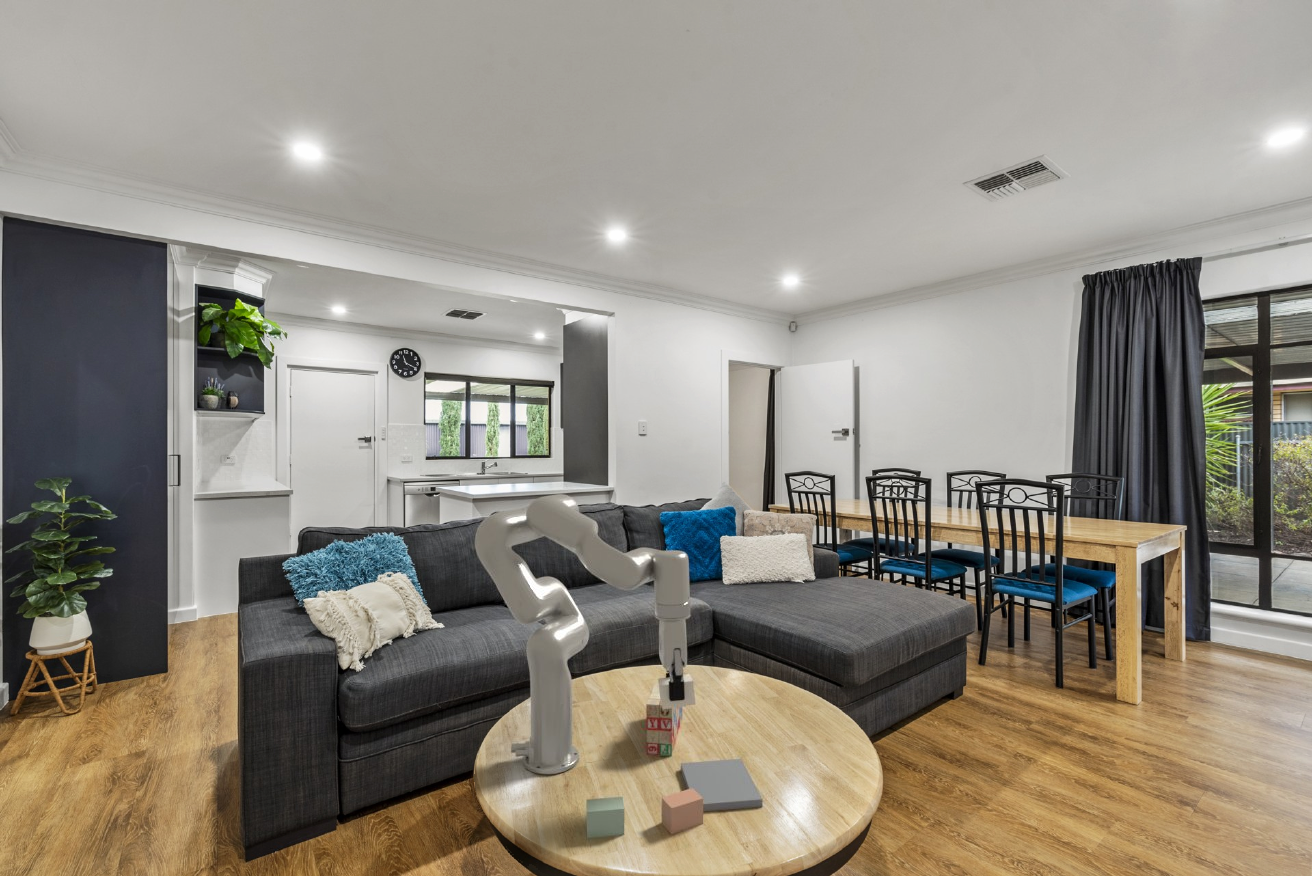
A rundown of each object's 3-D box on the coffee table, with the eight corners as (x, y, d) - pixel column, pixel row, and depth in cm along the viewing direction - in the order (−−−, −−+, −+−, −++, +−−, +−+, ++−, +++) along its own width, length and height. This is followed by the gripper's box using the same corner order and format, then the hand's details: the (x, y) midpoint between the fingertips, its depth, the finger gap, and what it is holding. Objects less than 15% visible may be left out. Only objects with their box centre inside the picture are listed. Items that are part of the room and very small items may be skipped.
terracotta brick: (671, 834, 117) (671, 808, 117) (661, 823, 121) (661, 797, 121) (703, 823, 120) (703, 798, 120) (692, 812, 124) (692, 787, 124)
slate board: (694, 812, 124) (694, 804, 124) (680, 769, 140) (680, 763, 140) (762, 806, 126) (762, 799, 126) (741, 765, 142) (741, 758, 142)
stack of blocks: (659, 715, 168) (659, 669, 168) (682, 716, 167) (682, 670, 167) (646, 755, 146) (645, 703, 146) (672, 757, 145) (672, 704, 145)
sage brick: (587, 838, 116) (587, 811, 116) (586, 825, 120) (586, 799, 120) (624, 835, 117) (624, 808, 117) (622, 822, 121) (622, 796, 121)
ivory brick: (662, 709, 130) (660, 685, 130) (660, 701, 134) (657, 678, 134) (695, 704, 131) (692, 680, 131) (692, 696, 135) (689, 673, 135)
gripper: (650, 601, 140) (653, 682, 140) (659, 621, 124) (662, 713, 123) (683, 599, 141) (686, 679, 141) (696, 619, 125) (699, 710, 124)
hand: (675, 694), depth 132 cm, fingers closed on ivory brick, 3 cm apart
